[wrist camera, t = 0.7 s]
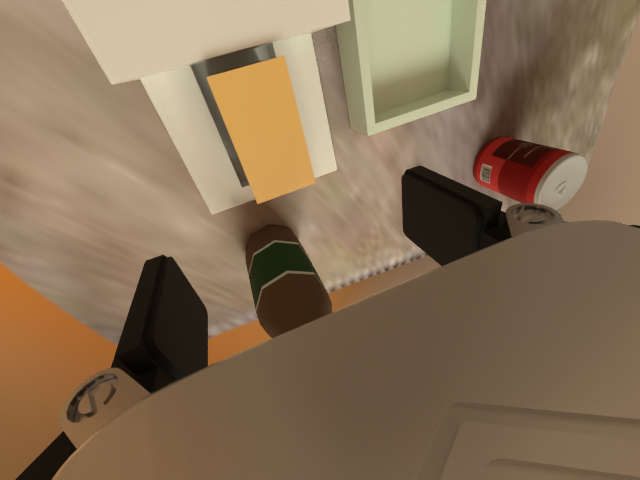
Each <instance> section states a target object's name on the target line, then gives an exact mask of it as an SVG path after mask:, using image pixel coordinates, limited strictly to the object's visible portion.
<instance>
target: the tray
mask: <svg viewBox="0 0 640 480" xmlns="http://www.w3.org/2000/svg"><path fill="white" fill-rule="evenodd" d="M348 3H349V11H350V19H351V20H350V21H346V22H343V23H340V24H337V25H335V26H336V33H337V40H338V47H339V53H340V60H341V67H342V74H343V81H344V87H345V94H346V101H347V108H348V114H349V121H350V128H351V129H353V130H355V131H357V132H360V133H362V134H365V135H367V136H370V135H373V134H375V133H378V132H381V131H384V130H387V129H390V128H393V127H396V126H399V125H402V124H404V123H407V122H410V121H413V120H416V119H419V118H422V117H425V116H428V115H431V114H433V113H436V112H439V111H442V110H445V109H448V108H451V107H454V106H457V105H460V104H462V103H465V102H468V101H471V100H474V99H476V93H477V84H478V74H479V65H480V55H481V46H482V37H483V27H484V18H485V8H486V0H348Z"/></svg>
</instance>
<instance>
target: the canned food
mask: <svg viewBox="0 0 640 480" xmlns="http://www.w3.org/2000/svg"><path fill="white" fill-rule="evenodd" d="M587 167H588V163H587V159H586V157H584V156H583V155H580V154H578V153H574V152H570V151H566V150H561V149H557V148H553V147H548V146H544V145H539V144H535V143H530V142H526V141H522V140H517V139H513V138H508V137H503V138H497V139H494V140H492V141H490V142H489V143H488V144H486V145H485V147H484V148H483V149H482V150H481V151H480V153H479V155H478V156H477V159H476V161H475V164H474V177H475V179H476V181H477V182H478V183H479V184H481V185H482V186H484V187H486V188H489V189H491V190H493V191H496V192H498V193H500V194H503V195H505V196H507V197H509V198H512V199H514V200H516V201H519V202H521V203H535V204H541V205H545V206H548V207H551V208H553V209H554V210H557V209H559V208H560V207H562V206H563V205H564V204H566V203H567V202H568V201H569V200H570V199H571V198H572V197H573V196H574V194H575V193H576V192H577V191H578V189H579V187H580V186H581V184H582V182H583V180H584V178H585V176H586V172H587Z"/></svg>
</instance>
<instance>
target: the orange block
mask: <svg viewBox="0 0 640 480" xmlns="http://www.w3.org/2000/svg"><path fill="white" fill-rule="evenodd" d="M206 78H207V80H208V83H209V85H210V88H211V90H212V93H213V95H214V98H215V100H216V103H217V105H218V108H219V110H220V113H221V115H222V117H223V120H224V122H225V125H226V127H227V130H228V132H229V135H230V137H231V140H232V142H233V145H234V147H235V150H236V152H237V155H238V157H239V160H240V162H241V164H242V167H243V169H244V172H245V174H246V177H247V179H248V182H249V184H250V187H251V189H252V192H253V194H254V197H255V199H256V202H257V204H260V203H262V202H265V201H268V200H271V199H273V198H276V197H279V196H282V195H284V194H287V193H290V192H293V191H295V190H298V189H301V188H304V187H306V186H309V185H312V184H315V183H316V181H315V177H314V173H313V169H312V165H311V161H310V157H309V152H308V148H307V144H306V140H305V136H304V132H303V128H302V124H301V120H300V116H299V112H298V108H297V104H296V100H295V96H294V92H293V88H292V84H291V80H290V76H289V72H288V67H287V63H286V59H285V55H284V56H279V57H276V58H272V59H268V60H260V61H256V62H253V63H249V64H246V65H242V66H238V67H235V68H231V69H228V70H224V71H221V72H217V73H213V74H210V75H208V77H206Z"/></svg>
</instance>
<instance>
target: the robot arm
mask: <svg viewBox="0 0 640 480" xmlns="http://www.w3.org/2000/svg"><path fill="white" fill-rule="evenodd" d="M501 207H502V202H501V201H498V200H496V199H494V198H492V197H489V196H487V195H485V194H483V193H480V192H478V191H476V190H474V189H472V188H469V187H467V186H465V185H463V184H460V183H458V182H456V181H454V180H452V179H449V178H447V177H445V176H443V175H440V174H438V173H436V172H434V171H431V170H429V169H427V168H425V167H423V166H417V167H414V168H411V169H408V170H406V171H405V173H404V175H403V176H402V212H403V231H404V234H405V235H406V236H407V237H408V238H409V239H410V240H411V241H412V242H414V243H415V244H416V245H417V246H418V247H420V248H421V249H422V250H423V251H424V252H426V253H427V254H428V255H429V256H430V257H432V258H433V259H434V260H435V261H436V262H438V263H439V264H440V265H441V267H439V268H436V269H434V270H432V271H430V272H427V273H425V274H422V275H420V276H418V277H415V278H413V279H410V280H408V281H406V282H403V283H401V284H398V285H396V286H394V287H392V288H389V289H387V290H384V291H382V292H380V293H377V294H375V295H372V296H370V297H368V298H366V299H363V300H361V301H358V302H356V303H354V304H351V305H349V306H347V307H344V308H342V309H340V310H337V311H335V312H332V313H330V314H328V315H325V316H323V317H321V318H318V319H316V320H314V321H311V322H309V323H307V324H305V325H302V326H300V327H298V328H295V329H293V330H291V331H288V332H286V333H284V334H281V335H279V336H277V337H274V338H272V339H270V340H268V341H265V342H263V343H260V344H258V345H256V346H253V347H251V348H249V349H246V350H244V351H242V352H240V353H237V354H235V355H233V356H230V357H228V358H226V359H223V360H221V361H219V362H216V363H214V364H212V365H210V366H208V314H207V310H206V307H205V305H204V304H203V302H202V301H201V299H200V298H199V296H198V295H197V293H196V292H195V290H194V289H193V287H192V286H191V284H190V283H189V281H188V280H187V278H186V277H185V275H184V274H183V272H182V271H181V269H180V268H179V266H178V265H177V263H176V262H175V260H174V259H173V258H172V257H168V258H167V257H166V256H165V255H161V256H158V257H155V258H153V259H150V260H147V261H146V262H145V264H144V267H143V270H142V273H141V276H140V279H139V282H138V285H137V289H136V292H135V295H134V298H133V301H132V304H131V307H130V310H129V313H128V316H127V319H126V322H125V325H124V329H123V332H122V335H121V338H120V341H119V344H118V347H117V350H116V353H115V357H114V360H113V363H112V366H111V368H108V369H105V370H102V371H100V372H98V373H96V374H94V375H92V376H91V377H89V378H88V379H87V380H85V381H84V382H83V383H82V384H81V385H79V386H78V387H77V389H76V390H74V392H73V393H72V394H71V395H70V396H69V398H68V399H67V400H66V402H65V404H64V406H63V408H62V410H61V412H60V416H59V423H60V427H61V428H62V429H63V432H62V433H61V434H60V435H59V436H58V437H57V438H56V439H55V440H54V441H53V442H52V443H51V444H50V445H49V446H48V447H47V448H46V449H45V450H44V451H43V452H42V453H41V454H40V455H39V456H38V457H37V458H36V459H35V460H34V461H33V462H32V463H31V464H30V465H29V466H28V467H27V469H25V470H24V472H23V473H22V474H20V476H19V477H18V478H17V479H16V480H640V226H637V225H626V224H622V223H618V222H612V221H604V220H601V221H600V220H589V221H575V222H564V221H563V219H562V217H561V215H560V214H559V213H558V211H556V210H554V209H553V208H551V207H548V206H545V205H541V204H535V203H520V204H516V205H512V206H510V207H509V208H508V209H507V210H506V212H503V211H501Z"/></svg>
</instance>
